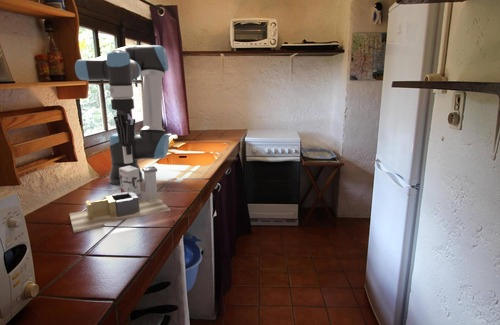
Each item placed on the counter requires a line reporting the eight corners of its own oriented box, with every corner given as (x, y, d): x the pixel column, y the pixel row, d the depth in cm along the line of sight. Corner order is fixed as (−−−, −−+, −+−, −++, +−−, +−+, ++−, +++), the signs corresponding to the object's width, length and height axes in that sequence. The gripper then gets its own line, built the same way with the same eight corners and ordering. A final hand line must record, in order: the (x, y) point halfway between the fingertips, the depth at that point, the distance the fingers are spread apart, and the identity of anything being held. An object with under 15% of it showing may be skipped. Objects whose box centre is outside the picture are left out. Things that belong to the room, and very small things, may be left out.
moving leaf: (86, 214, 121) (84, 199, 119) (112, 209, 125) (111, 195, 124) (89, 221, 114) (87, 206, 113) (116, 216, 119) (115, 201, 117)
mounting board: (69, 216, 122) (69, 213, 122) (158, 199, 138) (157, 197, 138) (73, 232, 109) (73, 229, 108) (171, 212, 125) (170, 209, 124)
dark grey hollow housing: (113, 208, 126) (111, 194, 125) (134, 204, 130) (132, 190, 129) (118, 217, 118) (116, 202, 117) (140, 212, 122) (139, 198, 121)
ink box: (120, 194, 145) (117, 167, 142) (131, 191, 148) (128, 165, 146) (130, 198, 139) (128, 171, 136) (141, 195, 143) (139, 168, 140)
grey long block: (144, 199, 135) (141, 167, 132) (156, 197, 138) (153, 166, 134) (147, 202, 131) (145, 170, 128) (159, 200, 134) (157, 168, 131)
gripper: (104, 97, 122) (111, 161, 128) (119, 99, 113) (126, 168, 119) (124, 96, 127) (130, 158, 133) (140, 98, 118) (146, 164, 124)
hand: (128, 162), depth 126 cm, fingers closed
